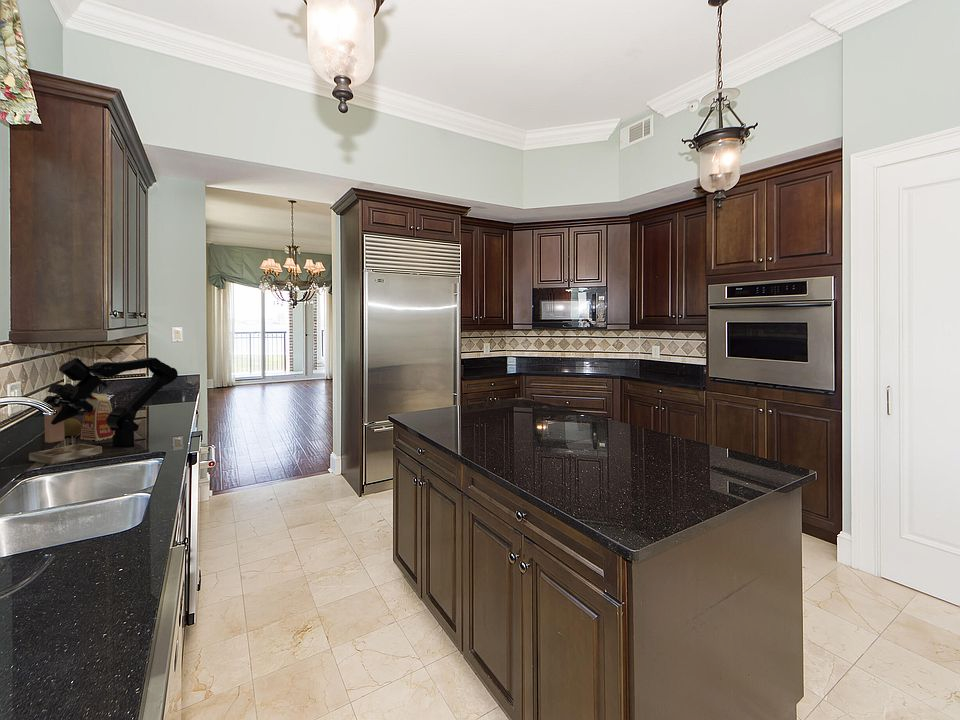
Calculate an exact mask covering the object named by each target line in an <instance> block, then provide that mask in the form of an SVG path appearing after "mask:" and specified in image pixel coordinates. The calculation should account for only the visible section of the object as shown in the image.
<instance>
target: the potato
mask: <svg viewBox="0 0 960 720" xmlns="http://www.w3.org/2000/svg"><path fill="white" fill-rule="evenodd" d="M81 429H82V423H81V422H80V421H79V420H78V419H76V418H73V417H71V418H68V419H66V420H64V435H65V437H67V436H74V437H76V436H79V435H81Z"/></svg>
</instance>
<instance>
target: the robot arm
mask: <svg viewBox="0 0 960 720" xmlns="http://www.w3.org/2000/svg"><path fill="white" fill-rule="evenodd" d="M142 369H148V370H149V371H150V372H151V373H152V374H151V378H150V380H149V382H148V383H147V384H146V385H145V386H144V387H143V388H142V389H141V390H140V391H139V392H138V393H137V394H136V395H135V396H134V397H132V398H131V399H130V400H129V402H128V403H126V404H125V405H124V406H115V407H114V408H112V412H110V413H109V414H108V415H109V416H108V417H107V418H106V423H107V425H108V426H109V427H110V428H111V431H115V432H114V435H113V437H112V446H113V447H114V448H129V447H135V446H136V442H135V441H136V440H135V432H137V431H138V430H139V427H140V425H139V424H138V423H137V422H135V419H136V416H137V413H138V412H139V411H140V410H141V409H142V408H143V406H145V405H146V404H147V402H149V401H150V400H151V399H152V398H153V397H154V396H155V395H156V394H157V393H158V391H160V390H161V389H162V388H163V387H166V386H167V385H169V384H171V383H173V382H174V381H175V380H176V379H177V378H178V377H179V376H178V370H177V369H176V368H175V367H171V366H170V365H169V364H166V363H164V362H162V361H161V360H160V359H158V358H157V357H150V356H149V357H145V358H140V359H132V360H125V361H119V362H114V361H113V362H111V361H97V362H94V363H93V364H92V365H87V364H85V363H84V362H83V361H82V360H81V359H80V358H78V357H73V358H72V359H71V360H69V361H67V362H65V363H63V364H62V365H61V366H60V367H59V369H58V371H59V372H60V373H62V374H63V375H64V376H65V377H67V378H68V379H70V380H71V381H73V382H77V383H76V384H75V385H74V384H72V383H69V382H68V383H64V384H59V383H51V385H50V386H49V388H48V390H47V393H49V394H55V395H47V396H46V397H44V399H42V401H43V402H45V403H46V404H48V406H50V407H58V406H60V407H62V409H61V411H60V412H59V413H58V414H57V416H56V417H55V418H54V419H53V421H52V422H51V424H53V425H55V424H57V423H59V422H61V421H64V420H66V419H69V418H73V417H75V416H77V415H81V411H82V410H83V413H87V414H90V413H91V412H92V411H93V410H94V406H93V405H91V404H90V403H89V402H88V399H89V398H91V397H92V393H95V391H96V390H97V389H98V388H99V387H100V388H107V387H108V384H107V380H106V379H101V378H113V377H114V376H118V375H119V374H122V373H124V372H130V371H131V372H132V371H136V370H142ZM57 395H58V396H57Z"/></svg>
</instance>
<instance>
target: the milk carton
mask: <svg viewBox="0 0 960 720" xmlns="http://www.w3.org/2000/svg"><path fill="white" fill-rule="evenodd" d="M91 396H92V397H91V398H87V402H89V403H90V404H91V405H93V406H94V410H93V411H92V412H91V413H90V414H87V413H84V412H83V413H84V414H83V419H82V423H81V425H82V429H81V433H80V440H83V439H84V440H85V441H92V440H95V441H96V442H99V441H102V440H103V439H104V440H108V439H113V435H114V432H115V431H111V428H110V427H109V426H108V425H107V423H106V418H107V417H108V416H109V415H108V414H109V413H110V412H112V411H113V408H112V404H111V400H110V399H109V398H108V393H97V392H96V393H95V392H93V393H92V394H91ZM107 438H108V439H107ZM98 440H99V441H98Z"/></svg>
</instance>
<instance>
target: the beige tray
mask: <svg viewBox="0 0 960 720" xmlns="http://www.w3.org/2000/svg"><path fill="white" fill-rule="evenodd" d="M100 454H103V447H102V446H101V445H93V444H86V443H78V444H71V445H65V446H61V447H60V446H59V447H55V448H51V449H45V450H39V451H35V452H29V453H28V460H29V461H32V462H37V463H42V464H49V465H54V464H58V463H63V462H68V461H73V460H77V459H81V458H82V459H83V458H87V457H90V456H95V455H100Z"/></svg>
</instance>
